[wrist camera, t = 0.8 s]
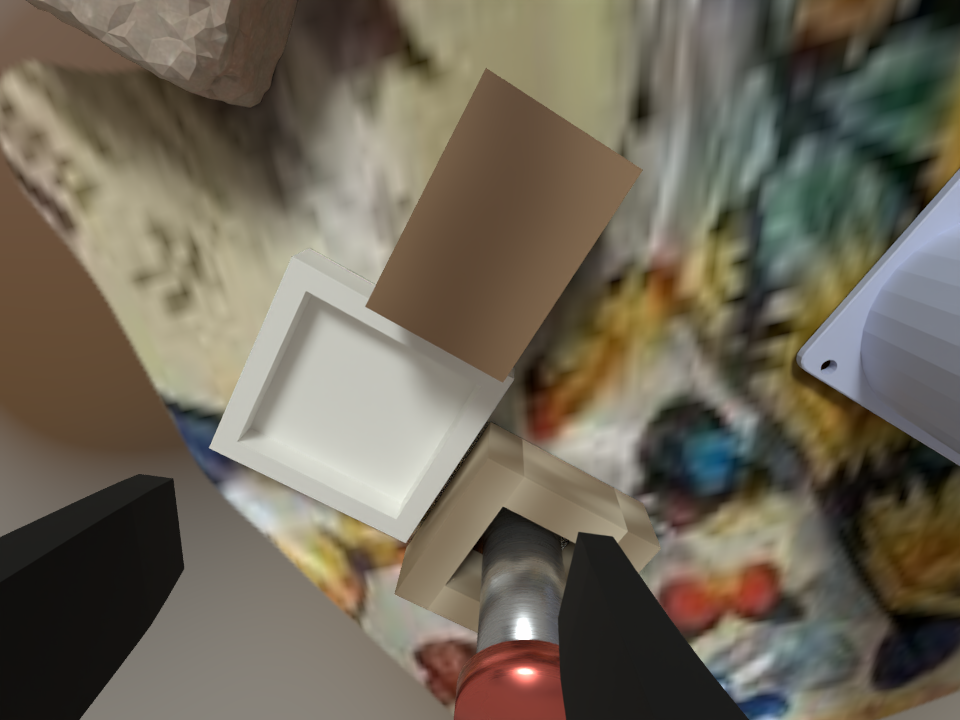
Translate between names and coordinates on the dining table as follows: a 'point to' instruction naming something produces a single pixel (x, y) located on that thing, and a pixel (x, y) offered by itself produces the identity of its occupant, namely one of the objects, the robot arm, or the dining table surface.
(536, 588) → the pin
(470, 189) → the brown rectangular block
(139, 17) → the brick
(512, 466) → the socket block
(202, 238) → the dining table surface
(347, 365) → the tray
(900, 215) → the dining table surface
